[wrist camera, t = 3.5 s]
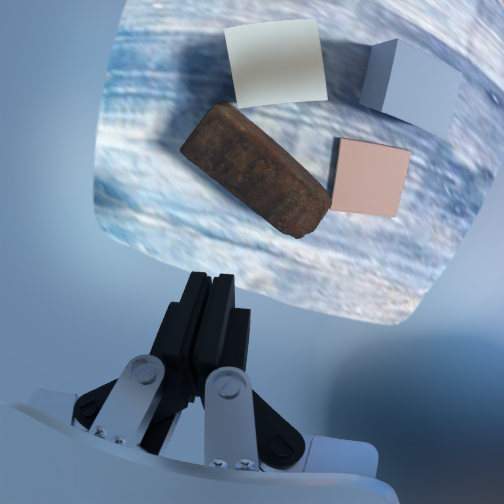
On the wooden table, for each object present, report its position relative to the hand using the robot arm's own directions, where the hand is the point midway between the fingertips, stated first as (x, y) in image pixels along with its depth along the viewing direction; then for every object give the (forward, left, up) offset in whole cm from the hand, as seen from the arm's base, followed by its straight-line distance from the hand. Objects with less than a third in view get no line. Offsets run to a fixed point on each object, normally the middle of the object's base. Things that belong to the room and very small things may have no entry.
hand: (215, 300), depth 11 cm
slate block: (-9, +11, -13) cm, 19 cm away
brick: (-2, +1, -13) cm, 13 cm away
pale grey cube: (-9, +2, -13) cm, 16 cm away
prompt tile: (-1, +10, -13) cm, 16 cm away
